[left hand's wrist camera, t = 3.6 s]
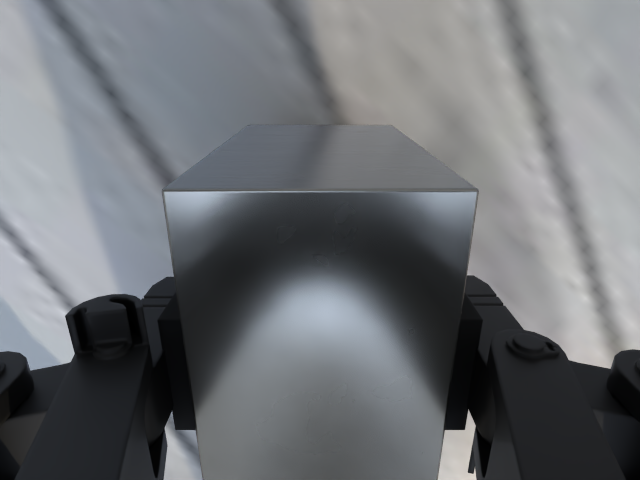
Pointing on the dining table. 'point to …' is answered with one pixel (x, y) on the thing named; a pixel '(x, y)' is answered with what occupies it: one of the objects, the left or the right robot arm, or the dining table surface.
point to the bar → (320, 301)
